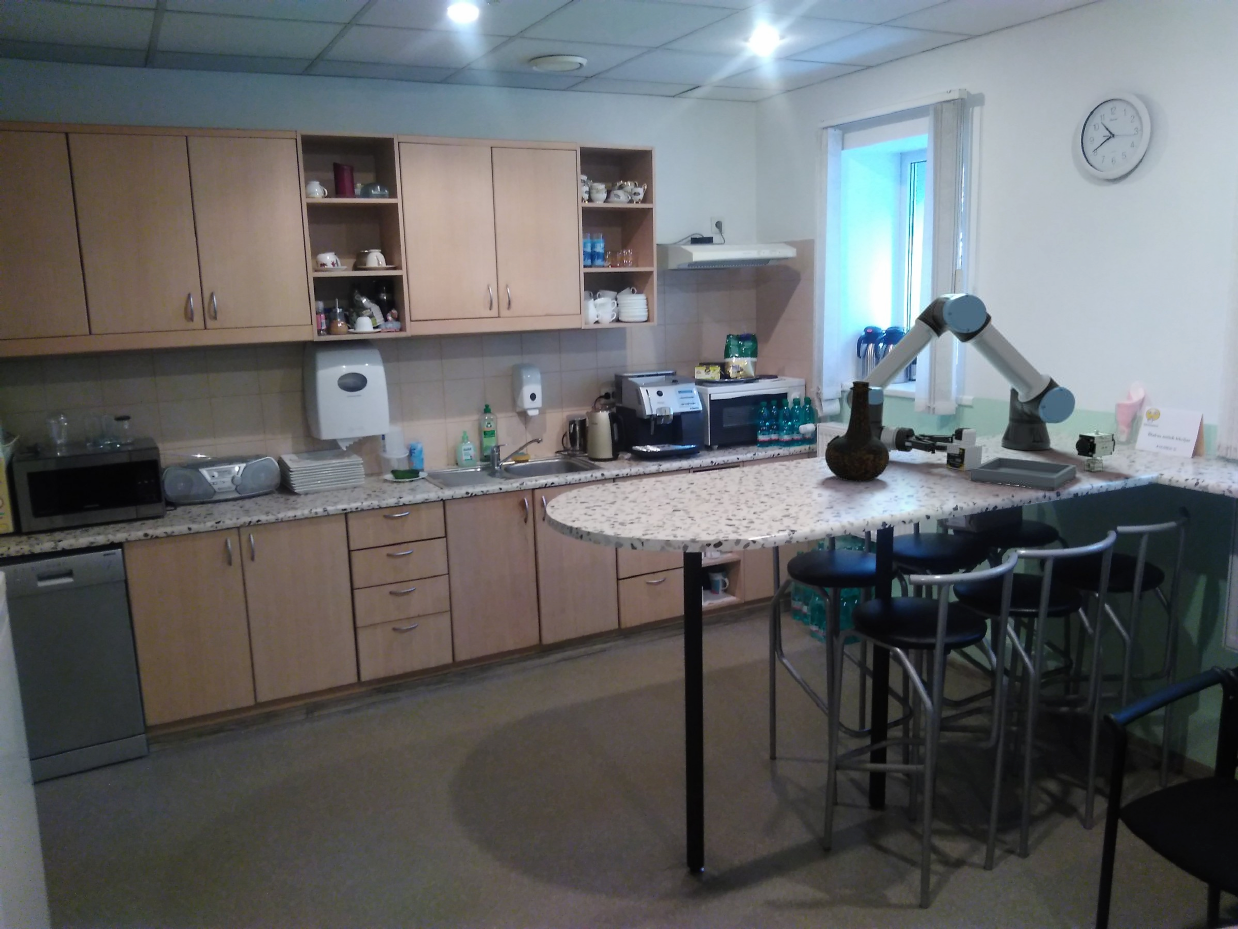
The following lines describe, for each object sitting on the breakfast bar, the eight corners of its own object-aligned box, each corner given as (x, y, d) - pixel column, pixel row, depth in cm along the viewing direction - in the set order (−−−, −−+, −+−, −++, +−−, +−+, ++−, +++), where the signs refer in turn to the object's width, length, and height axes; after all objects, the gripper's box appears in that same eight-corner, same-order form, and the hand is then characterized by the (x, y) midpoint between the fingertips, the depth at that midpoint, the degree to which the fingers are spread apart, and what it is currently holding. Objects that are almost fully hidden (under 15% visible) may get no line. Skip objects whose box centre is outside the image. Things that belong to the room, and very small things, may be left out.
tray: (996, 468, 274) (996, 456, 273) (1075, 477, 260) (1076, 465, 259) (970, 480, 257) (971, 468, 257) (1053, 491, 243) (1055, 478, 243)
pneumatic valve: (1072, 471, 268) (1076, 430, 266) (1099, 467, 274) (1102, 427, 271) (1089, 474, 264) (1093, 433, 261) (1116, 470, 269) (1120, 430, 266)
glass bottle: (835, 470, 274) (838, 376, 269) (895, 475, 265) (900, 379, 260) (815, 481, 259) (818, 382, 254) (878, 487, 250) (883, 385, 245)
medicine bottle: (945, 467, 277) (947, 427, 275) (963, 464, 280) (965, 426, 278) (963, 471, 270) (965, 431, 268) (981, 468, 273) (983, 429, 271)
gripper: (914, 445, 297) (980, 452, 283) (881, 456, 278) (950, 464, 264) (915, 422, 295) (982, 428, 282) (882, 432, 276) (952, 439, 263)
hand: (967, 445), depth 273 cm, fingers open, 13 cm apart
